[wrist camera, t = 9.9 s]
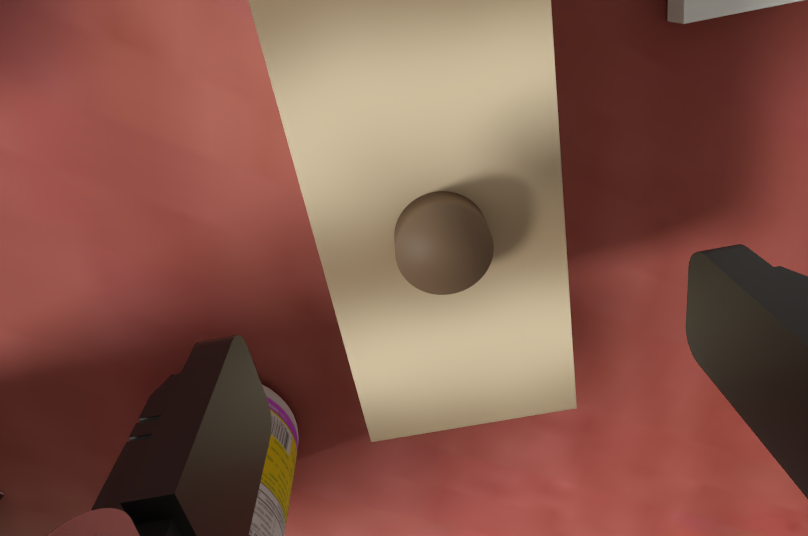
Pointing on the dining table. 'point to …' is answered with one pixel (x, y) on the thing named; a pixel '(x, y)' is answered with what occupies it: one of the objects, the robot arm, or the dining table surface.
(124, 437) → the dining table surface
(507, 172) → the lid
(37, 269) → the dining table surface
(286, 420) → the supplement bottle
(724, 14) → the mat
